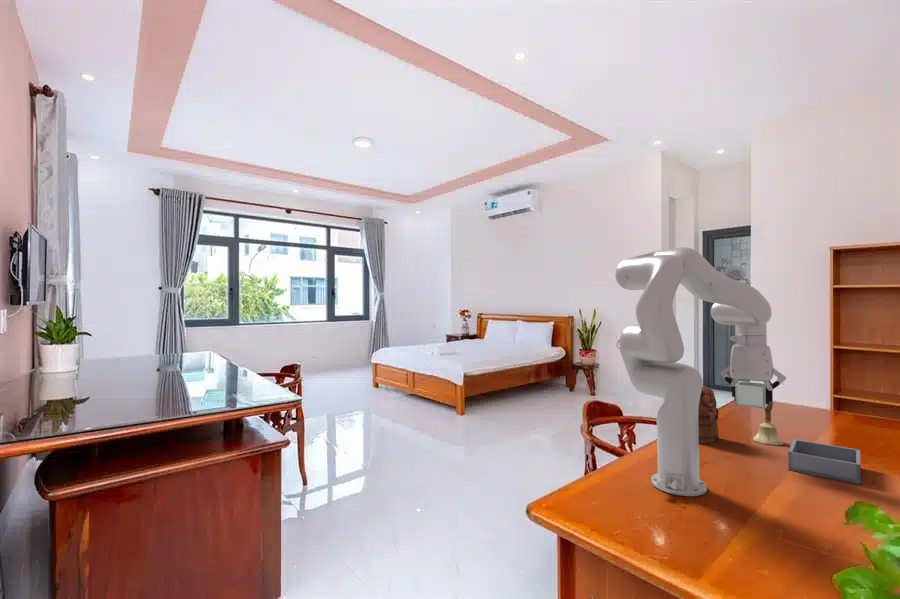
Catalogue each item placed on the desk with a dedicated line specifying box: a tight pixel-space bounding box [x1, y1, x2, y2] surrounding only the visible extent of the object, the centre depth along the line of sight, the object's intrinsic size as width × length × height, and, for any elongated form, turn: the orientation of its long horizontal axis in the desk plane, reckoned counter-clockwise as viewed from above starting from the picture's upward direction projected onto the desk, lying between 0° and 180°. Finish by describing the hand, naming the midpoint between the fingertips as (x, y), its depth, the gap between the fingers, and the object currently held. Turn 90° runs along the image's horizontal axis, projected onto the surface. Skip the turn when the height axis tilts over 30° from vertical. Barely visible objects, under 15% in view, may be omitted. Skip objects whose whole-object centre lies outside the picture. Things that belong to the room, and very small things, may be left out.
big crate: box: [787, 438, 862, 485], centre depth 121 cm, size 15×15×5 cm
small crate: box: [735, 380, 768, 410], centre depth 127 cm, size 7×7×6 cm
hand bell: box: [752, 400, 785, 446], centre depth 144 cm, size 8×8×16 cm
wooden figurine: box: [698, 385, 720, 444], centre depth 147 cm, size 12×6×18 cm, turn 128°
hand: (752, 401), depth 127 cm, fingers closed on small crate, 7 cm apart
